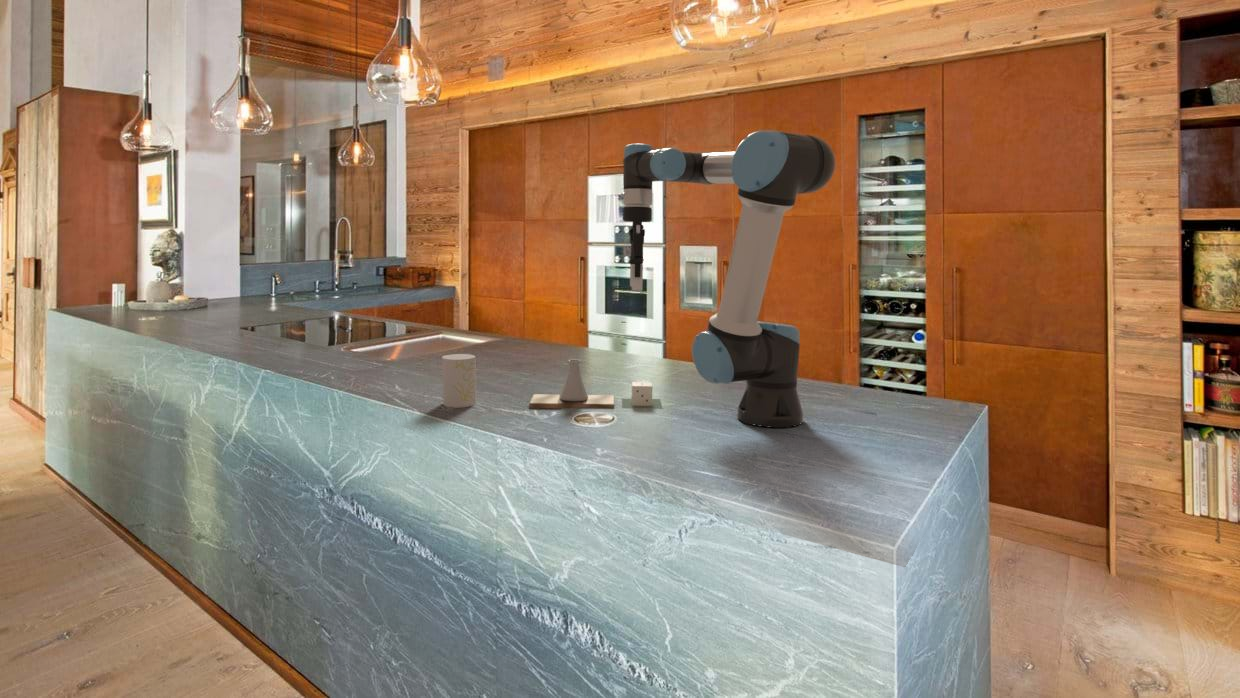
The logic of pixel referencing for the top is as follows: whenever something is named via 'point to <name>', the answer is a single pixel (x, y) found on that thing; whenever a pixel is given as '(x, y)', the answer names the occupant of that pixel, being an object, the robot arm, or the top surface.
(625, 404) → the mat
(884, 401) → the top surface
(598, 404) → the board
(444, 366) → the white upright cylinder
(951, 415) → the top surface
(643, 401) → the die
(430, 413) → the top surface
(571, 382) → the flask
